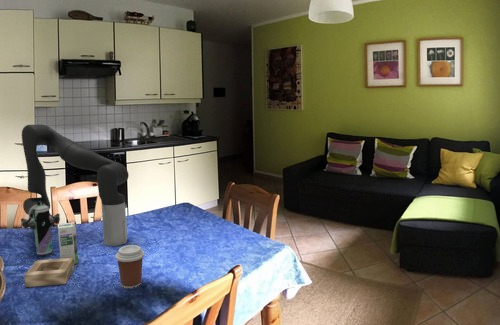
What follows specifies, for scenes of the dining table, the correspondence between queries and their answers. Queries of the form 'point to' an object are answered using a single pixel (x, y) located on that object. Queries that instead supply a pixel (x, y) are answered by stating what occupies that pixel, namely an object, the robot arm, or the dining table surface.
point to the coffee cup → (130, 265)
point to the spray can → (42, 228)
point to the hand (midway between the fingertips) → (42, 226)
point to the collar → (49, 272)
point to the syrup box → (68, 241)
